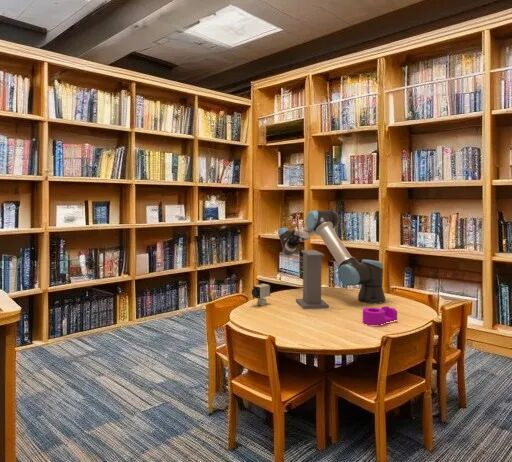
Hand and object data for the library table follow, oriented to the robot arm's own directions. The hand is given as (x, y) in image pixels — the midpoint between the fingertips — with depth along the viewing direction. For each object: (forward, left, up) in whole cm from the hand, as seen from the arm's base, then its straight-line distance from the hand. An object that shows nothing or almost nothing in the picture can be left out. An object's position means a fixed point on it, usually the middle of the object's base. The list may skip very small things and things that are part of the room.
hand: (299, 228), depth 253 cm
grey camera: (-8, +36, -40) cm, 54 cm away
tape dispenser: (-66, +12, -40) cm, 79 cm away
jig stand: (-25, +14, -40) cm, 49 cm away
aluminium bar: (-3, +2, -4) cm, 5 cm away
